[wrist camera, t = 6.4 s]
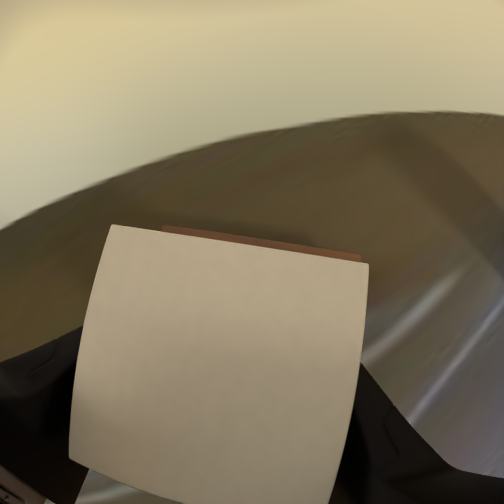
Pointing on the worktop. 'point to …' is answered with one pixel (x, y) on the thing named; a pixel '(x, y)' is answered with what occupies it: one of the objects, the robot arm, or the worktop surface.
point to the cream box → (217, 369)
